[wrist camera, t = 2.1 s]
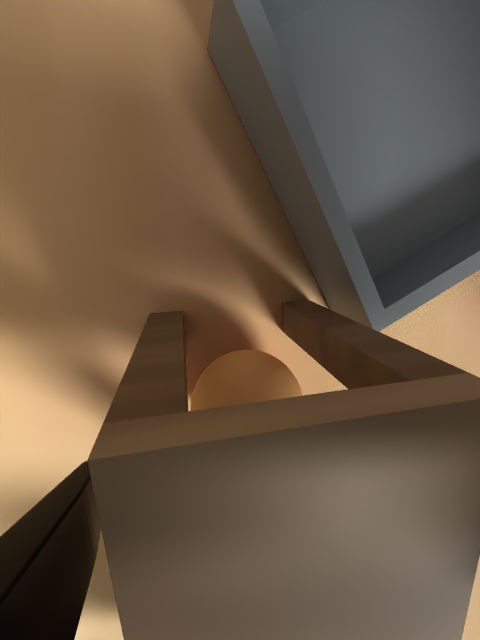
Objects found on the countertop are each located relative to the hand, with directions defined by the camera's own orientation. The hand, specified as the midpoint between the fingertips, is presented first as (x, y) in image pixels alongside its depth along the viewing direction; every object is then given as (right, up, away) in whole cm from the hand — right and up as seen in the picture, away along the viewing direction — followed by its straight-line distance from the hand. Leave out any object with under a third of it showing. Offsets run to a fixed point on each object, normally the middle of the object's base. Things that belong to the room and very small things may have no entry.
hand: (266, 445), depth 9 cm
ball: (-1, +1, +2) cm, 2 cm away
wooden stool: (-1, +1, +4) cm, 4 cm away
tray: (+5, +11, +3) cm, 12 cm away
